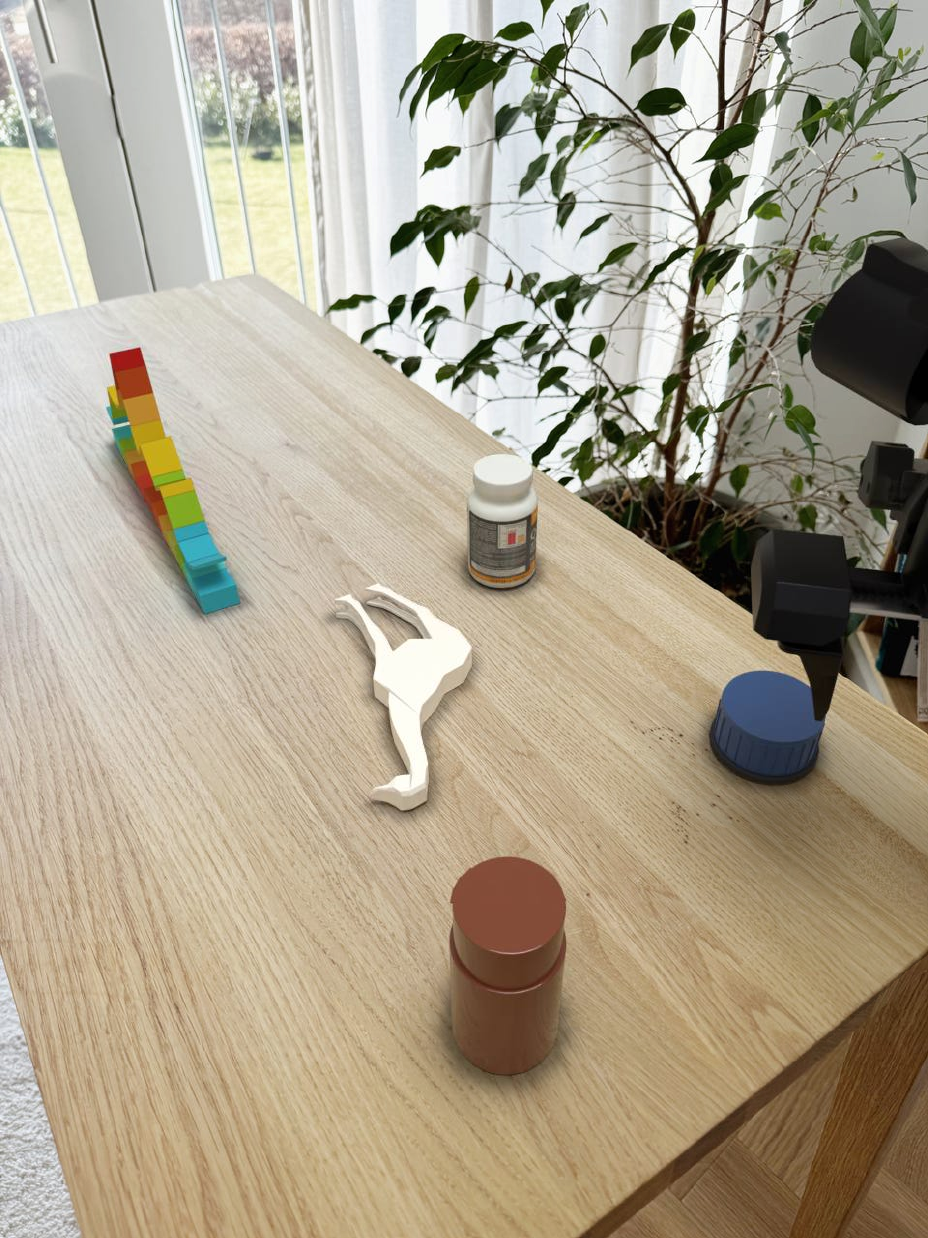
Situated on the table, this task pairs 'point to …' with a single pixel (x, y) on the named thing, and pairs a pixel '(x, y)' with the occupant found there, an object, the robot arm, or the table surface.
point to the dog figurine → (410, 684)
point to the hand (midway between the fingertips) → (907, 727)
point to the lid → (767, 723)
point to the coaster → (754, 776)
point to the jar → (506, 963)
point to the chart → (165, 482)
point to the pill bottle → (502, 521)
